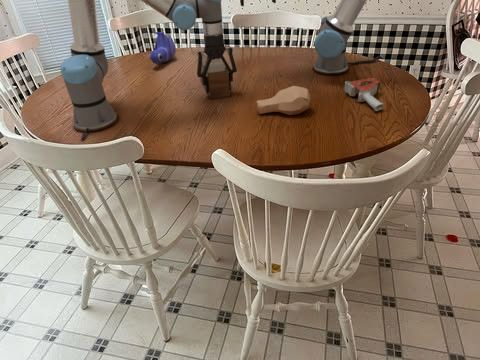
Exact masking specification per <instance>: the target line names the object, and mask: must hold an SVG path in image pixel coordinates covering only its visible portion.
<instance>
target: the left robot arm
mask: <svg viewBox="0 0 480 360" xmlns="http://www.w3.org/2000/svg"><path fill="white" fill-rule="evenodd" d="M140 1H141V2H142V3H144V4H145V5H147V6H148V7H150V8H152V10H155V11H156V12H158V13H159V14H160V15H162V16H164V17H165V18H166V19H168V20H169V21H170V22H172V23H173V24H174V26H176V28H177V29H179V30H181V31H189V30H191V29H192V28H193V27H194V26H195V24H196V21H197V19H201V24H202V34H204V35H203V44H204V48H203V49H201V50H200V49H198V50H196V53H197V66H196V67H197V69H196V75H197V78H200V79H201V78H202V80H201V83H202V85H203V86H204V87H205V86H206V88H205V92H206V94H207V95H209V88H208V79H207V76H206V74H207V71H208V68H209V65H210V63H211V61H212V60H214V59H221V61H222V62H223V64H224V65H225V67H226V68H227V69H228V74H229V88H230V91H232V82H233V81H234V76H233V75H234V74H235V73H236V72H237V71H238V69H237V66H236V62H235V58H234V54H233V50H234V49H233V47H232V46H231V45H229V46H226V45H225V39H224V38H225V37H224V24H223V13H222V12H223V9H222V0H140ZM67 2H68V11H69V17H70V23H71V31H72V37H73V42H72V43H71V44H70V46H69V48H70V55H71V56H70V57H68V58H65V59H63V61H62V62H61V63H60V65H59V69H60V74H61V77H62V79H63V82H64V84H65V87H66V90H67V93H68V96H69V99H70V101H71V104H72V108H73V114H72V117H73V118H72V119H73V125H74V128H75V129H76V131H78V132H83V134H82V136H81V138H80V140H81V141H83V140H85V137H86V135H87V133H92V132H99V131H102V130H105V129H107V128H110V127H111V126H113V125H115V124H116V122H117V121H118V116H117V113H116V111H115V110H114V108H113V107H112V105H111V103H110V102H109V101H108V99H107V96H106V92H105V89H104V87H103V86H104V85H103V81H104V78H105V77H106V75H107V74H108V70H109V61H108V58H107V56H106V52H105V51H106V50H105V46H104V45H103V44H102V42H100V36H99V27H98V17H97V15H98V14H97V8H96V0H67ZM225 52H226V53H227V55H228V59H229V63H230V65H231V67H230V65H229V63H228V61H227V60H226V58H225V57H224V54H225ZM205 54H206V55H207V60H206V63H205V66H204V69H203V72H202V73H201V68H202V56H203V55H205Z"/></svg>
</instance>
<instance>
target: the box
mask: <svg viewBox="0 0 480 360" xmlns="http://www.w3.org/2000/svg"><path fill="white" fill-rule="evenodd" d="M206 60H207V55H206V53H204V55H203V56H202V68H201V73H202V72H203V69H204V66H205V63H206ZM228 73H229V72H228V69H227V68H226V66H225V65H224V63H223V61H222V60H221V58H220V59H214V60H212V61H211V63H210V65H209V68H208V71H207V74H206V76H207V79H208V88H209V94H208V96H209V98H210V100H213V99H220V98H226V97H231V90H230V88H229V74H228ZM200 80H201V81H202V78H201V77H200ZM204 88H205V89H206V86H204Z"/></svg>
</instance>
